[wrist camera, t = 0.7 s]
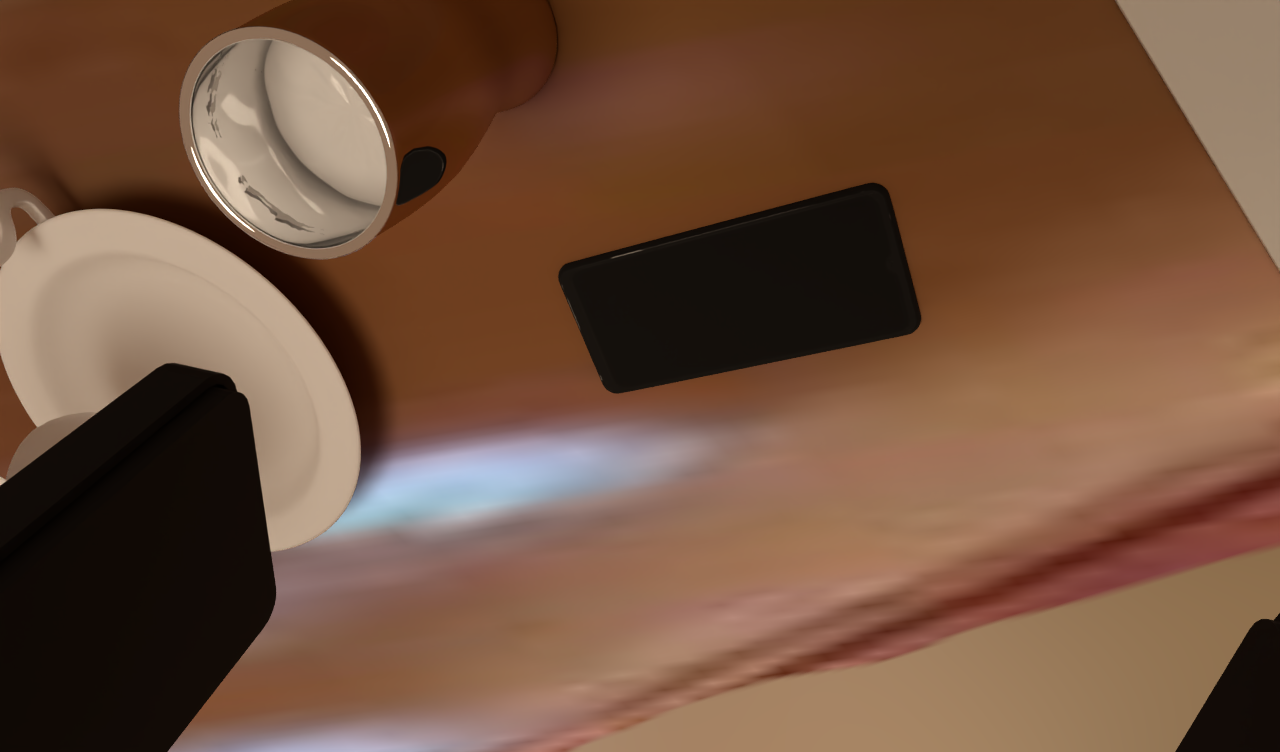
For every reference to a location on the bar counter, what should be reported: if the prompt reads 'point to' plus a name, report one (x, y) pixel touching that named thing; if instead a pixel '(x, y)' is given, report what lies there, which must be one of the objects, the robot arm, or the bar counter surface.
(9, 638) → the robot arm
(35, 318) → the candlestick
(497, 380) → the bar counter surface
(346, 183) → the beer glass
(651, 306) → the smartphone
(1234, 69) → the plaque base
